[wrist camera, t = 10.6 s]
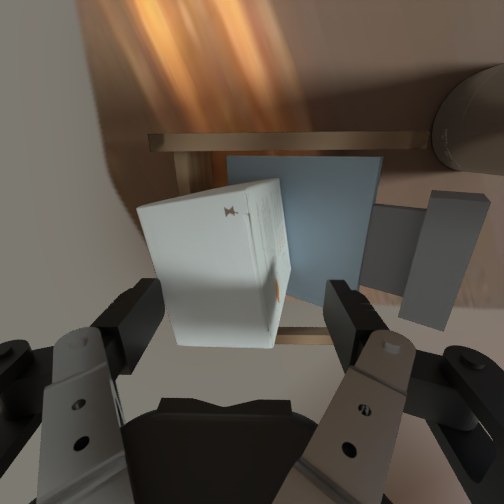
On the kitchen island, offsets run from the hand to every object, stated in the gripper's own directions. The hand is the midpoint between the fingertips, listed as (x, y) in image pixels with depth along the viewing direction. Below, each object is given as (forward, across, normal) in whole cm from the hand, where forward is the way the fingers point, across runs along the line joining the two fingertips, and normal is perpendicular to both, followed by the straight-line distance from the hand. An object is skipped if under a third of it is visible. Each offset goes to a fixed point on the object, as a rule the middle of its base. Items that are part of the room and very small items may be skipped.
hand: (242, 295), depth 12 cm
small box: (+10, 0, 0) cm, 10 cm away
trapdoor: (+10, -6, 0) cm, 12 cm away
